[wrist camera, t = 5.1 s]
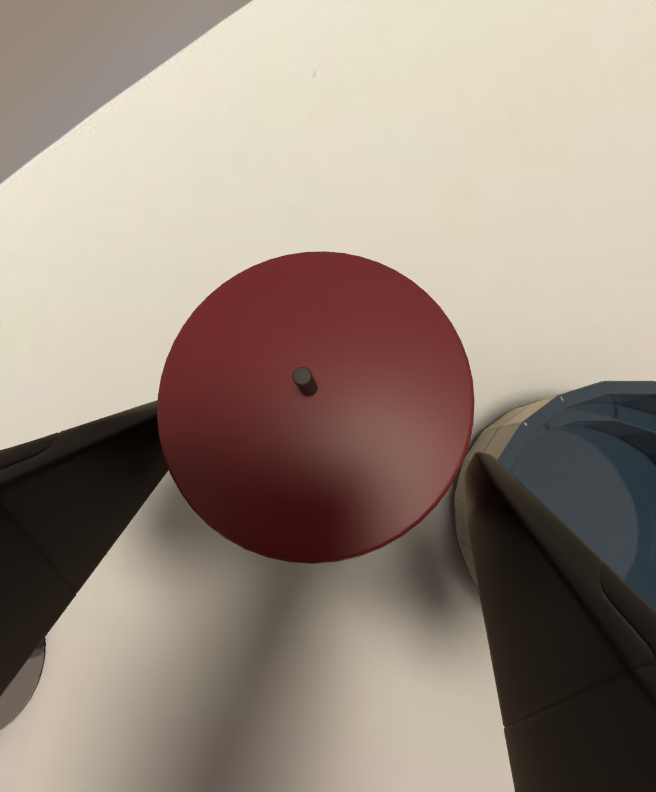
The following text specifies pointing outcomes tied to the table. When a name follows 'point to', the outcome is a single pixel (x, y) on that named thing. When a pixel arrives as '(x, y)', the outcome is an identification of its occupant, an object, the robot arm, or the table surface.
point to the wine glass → (21, 687)
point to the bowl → (585, 471)
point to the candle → (315, 407)
